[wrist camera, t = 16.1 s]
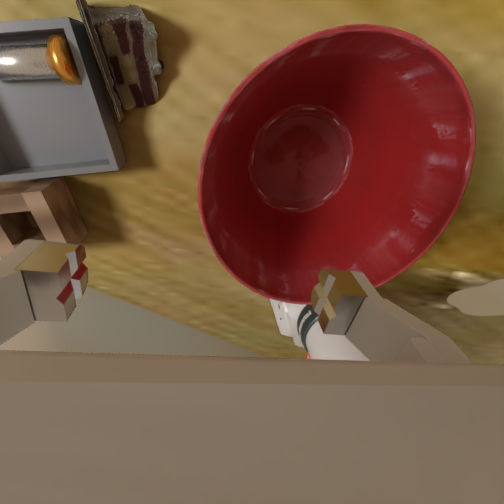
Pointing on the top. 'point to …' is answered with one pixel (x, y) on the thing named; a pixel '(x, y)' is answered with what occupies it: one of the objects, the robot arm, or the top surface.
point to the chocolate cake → (124, 53)
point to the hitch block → (38, 213)
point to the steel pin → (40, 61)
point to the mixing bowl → (336, 160)
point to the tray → (56, 112)
